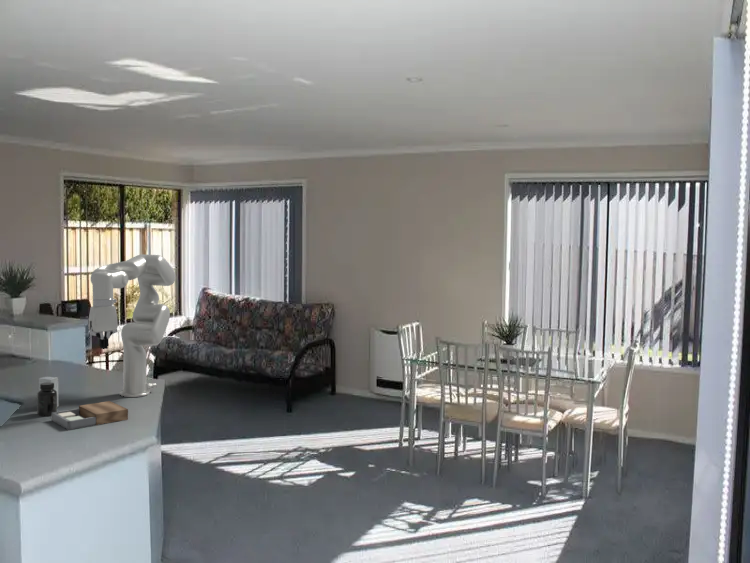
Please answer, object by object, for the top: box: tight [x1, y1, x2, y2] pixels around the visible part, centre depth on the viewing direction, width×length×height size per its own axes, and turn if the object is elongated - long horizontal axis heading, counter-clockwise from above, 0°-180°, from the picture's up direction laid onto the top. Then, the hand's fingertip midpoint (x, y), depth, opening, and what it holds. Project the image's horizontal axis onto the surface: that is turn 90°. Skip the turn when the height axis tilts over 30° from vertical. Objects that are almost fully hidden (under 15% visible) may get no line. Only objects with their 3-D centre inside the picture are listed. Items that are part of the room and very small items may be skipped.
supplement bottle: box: [36, 382, 58, 417], centre depth 252 cm, size 7×7×12 cm
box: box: [51, 407, 97, 431], centre depth 242 cm, size 10×16×3 cm, turn 46°
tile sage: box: [66, 416, 84, 421], centre depth 239 cm, size 5×5×2 cm
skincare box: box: [38, 376, 59, 408], centre depth 262 cm, size 6×4×12 cm
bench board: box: [78, 400, 129, 426], centre depth 250 cm, size 12×16×4 cm
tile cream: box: [59, 412, 75, 418], centre depth 244 cm, size 5×5×2 cm
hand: (104, 348), depth 261 cm, fingers closed
